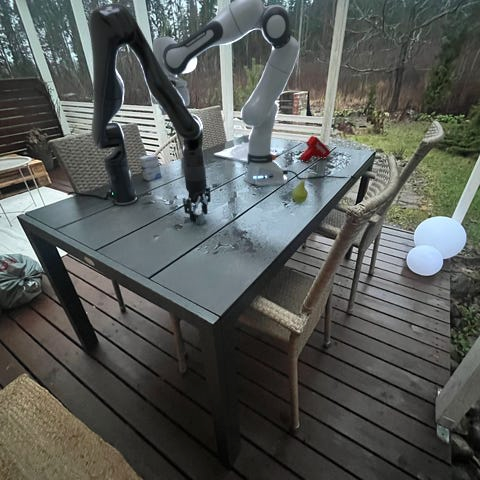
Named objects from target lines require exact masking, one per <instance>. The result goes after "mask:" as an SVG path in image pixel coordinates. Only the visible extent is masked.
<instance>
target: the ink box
mask: <svg viewBox="0 0 480 480" xmlns="http://www.w3.org/2000/svg"><path fill="white" fill-rule="evenodd" d="M138 158H139V162H140V168H141V173H142V178H143V180H145V181H148V182H149V181H152V180H153V181H154V180H156V179H159V178H162V173H161V167H160V160H159V156H158V155H156V154H149V155H145V156H144V155H143V156H139V157H138Z"/></svg>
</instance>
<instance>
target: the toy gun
mask: <svg viewBox="0 0 480 480" xmlns="http://www.w3.org/2000/svg"><path fill="white" fill-rule="evenodd" d="M306 146H307V148H306V149H305V151H304V152H303V153H301V154H300V160H301V161H302V160H303V161H302V162H305V163H307V164H308V163H309V161H310V160H311V158H313V157H314V158H319V159H322V160H327V158H328V157H329V156H330V154H331V153H332V152H331V151H330V150H329V148H328V147H326V145H325V144H324V143H323V142H322V141H321V140H320V139H319V138H318V137H317V136H315V135H314V136H313V135H311V136H310V137H309V139H308V140H307V141H306ZM321 157H322V158H321ZM323 157H327V158H324V159H323ZM306 161H308V162H306Z"/></svg>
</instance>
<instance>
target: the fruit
mask: <svg viewBox="0 0 480 480" xmlns="http://www.w3.org/2000/svg"><path fill="white" fill-rule="evenodd" d="M309 177H311V175H310V174H309V175H308V176H307V177H305V178H306V179H301V181H300V182H298V184H297V185H296V186H295V187H294V188H293V190H292V191H291V198H292V200H293V201H294V202H295V203H297V204H301V203H304V202H305V201H306V200H307V198H308V196H309V195H308V190H307V189H306V184H305V183H306V180H308V179H307V178H309Z"/></svg>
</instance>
